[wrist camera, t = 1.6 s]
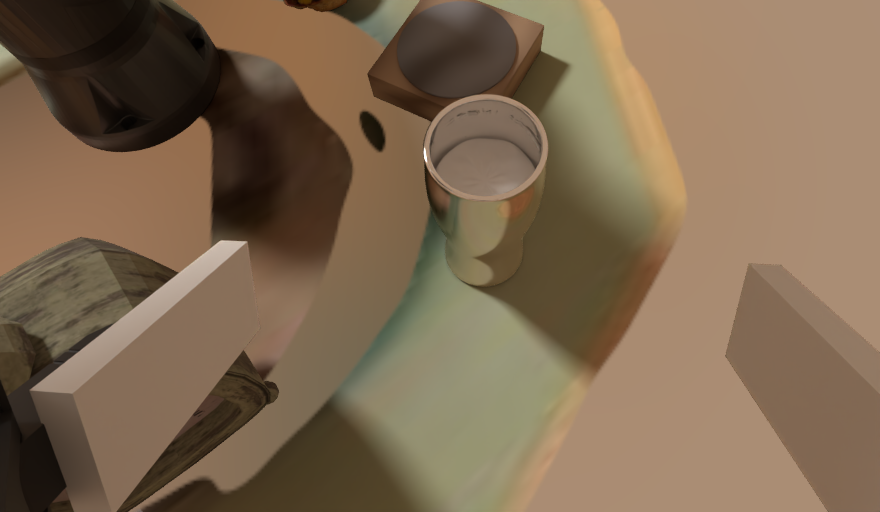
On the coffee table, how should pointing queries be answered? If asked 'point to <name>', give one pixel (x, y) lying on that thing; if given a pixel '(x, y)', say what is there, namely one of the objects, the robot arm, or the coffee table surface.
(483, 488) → the coffee table surface
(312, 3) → the burger
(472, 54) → the walnut plinth
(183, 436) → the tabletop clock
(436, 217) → the silver metal cup
